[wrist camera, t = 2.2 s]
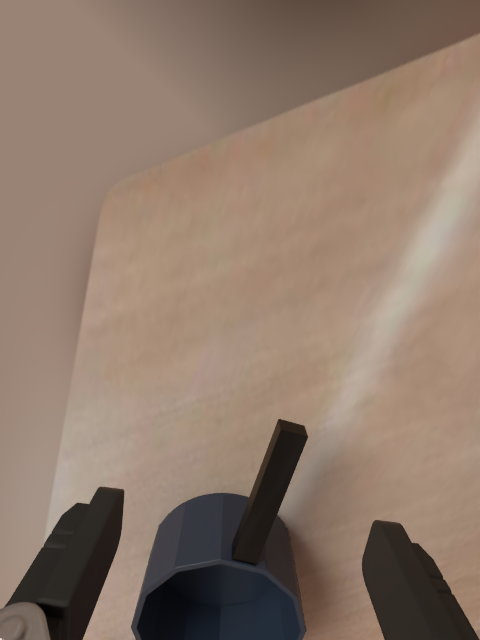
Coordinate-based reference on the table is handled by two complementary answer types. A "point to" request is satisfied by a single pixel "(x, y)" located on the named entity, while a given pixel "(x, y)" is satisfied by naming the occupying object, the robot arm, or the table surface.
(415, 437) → the table surface
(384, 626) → the robot arm
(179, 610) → the pan
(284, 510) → the table surface
